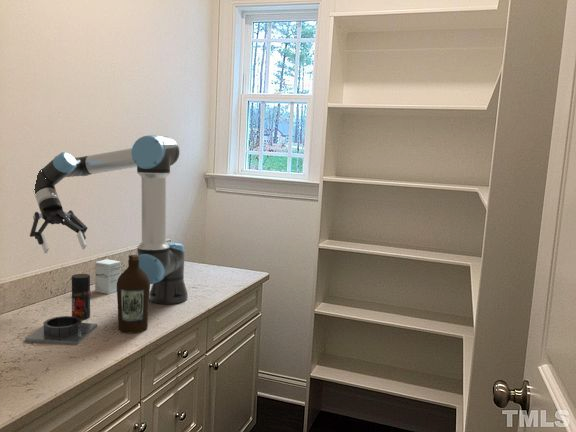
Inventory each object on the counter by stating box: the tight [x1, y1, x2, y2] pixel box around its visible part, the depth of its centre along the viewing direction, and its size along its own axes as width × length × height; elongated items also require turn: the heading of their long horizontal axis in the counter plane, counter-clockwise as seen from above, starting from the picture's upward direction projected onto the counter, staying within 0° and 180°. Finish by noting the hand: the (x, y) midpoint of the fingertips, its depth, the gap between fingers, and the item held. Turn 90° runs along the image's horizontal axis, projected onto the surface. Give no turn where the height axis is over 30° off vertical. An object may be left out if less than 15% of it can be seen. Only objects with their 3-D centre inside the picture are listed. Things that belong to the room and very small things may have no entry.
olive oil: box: [116, 254, 151, 334], centre depth 169 cm, size 11×11×25 cm
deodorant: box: [71, 273, 91, 321], centre depth 178 cm, size 6×6×15 cm
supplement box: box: [94, 258, 122, 295], centre depth 211 cm, size 7×7×13 cm
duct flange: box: [24, 315, 98, 346], centre depth 163 cm, size 16×16×4 cm
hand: (66, 249), depth 183 cm, fingers open, 13 cm apart
